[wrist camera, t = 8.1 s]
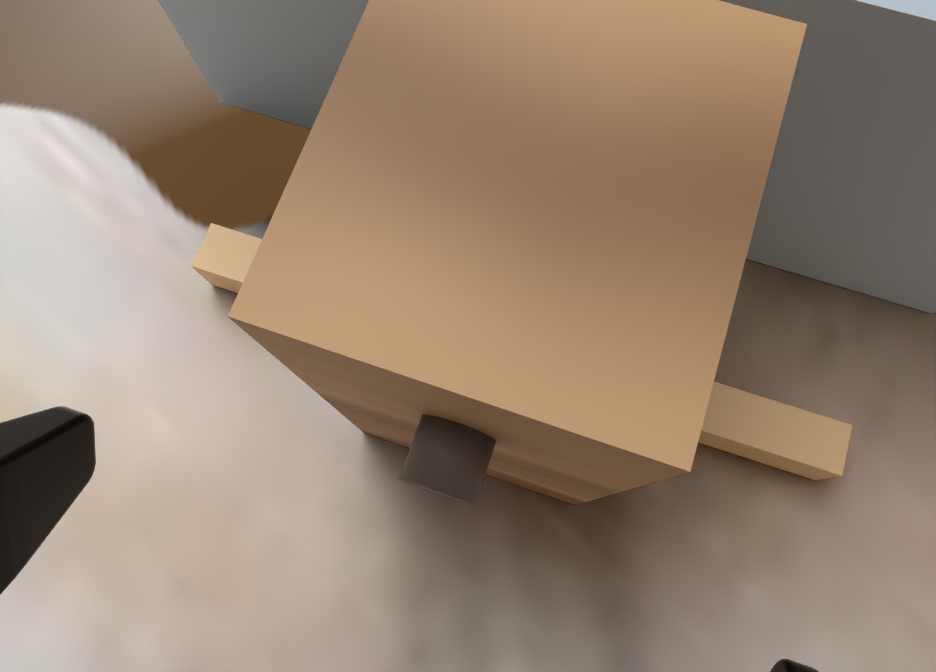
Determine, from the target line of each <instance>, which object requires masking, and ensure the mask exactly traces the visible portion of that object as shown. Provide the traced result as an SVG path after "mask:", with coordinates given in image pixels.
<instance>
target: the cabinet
mask: <svg viewBox="0 0 936 672" xmlns="http://www.w3.org/2000/svg"><path fill="white" fill-rule="evenodd" d="M806 26H807V24H805V23H801V22H798V21H794V20H790V19H786V18H783V17H779V16H775V15H771V14H768V13H764V12H760V11H756V10H753V9H749V8H745V7H742V6H738V5H734V4H730V3H727V2H723V1H719V0H369V1H368V4H367V6H366V8H365V10H364V13H363V15H362V17H361V19H360V22H359V24H358V26H357V28H356V31H355V33H354V35H353V37H352V40H351V42H350V44H349V46H348V48H347V51H346V53H345V55H344V57H343V60H342V62H341V64H340V66H339V69H338V71H337V73H336V75H335V78H334V80H333V82H332V84H331V87H330V89H329V91H328V93H327V95H326V98H325V100H324V102H323V104H322V107H321V109H320V111H319V113H318V116H317V118H316V120H315V122H314V125H313V127H312V129H311V131H310V134H309V136H308V138H307V140H306V142H305V145H304V147H303V149H302V151H301V154H300V156H299V158H298V160H297V163H296V165H295V167H294V169H293V172H292V174H291V176H290V178H289V181H288V183H287V185H286V187H285V189H284V192H283V194H282V196H281V199H280V201H279V203H278V205H277V207H276V210H275V212H274V214H273V216H272V219H271V221H270V223H269V225H268V228H267V230H266V232H265V234H264V236H263V239H262V241H261V243H260V245H259V248H258V250H257V252H256V254H255V257H254V259H253V261H252V263H251V266H250V268H249V270H248V272H247V275H246V277H245V279H244V281H243V283H242V286H241V288H240V290H239V292H238V295H237V297H236V299H235V301H234V304H233V306H232V308H231V310H230V313H229V315H228V317H229V318H230V319H232V320H233V321H234V322H235V323H236V324H237V325H239V326H240V327H241V328H242V329H243V330H244V331H246V332H247V333H248V334H249V335H250V336H251V337H253V338H254V339H255V340H256V341H257V342H258V343H260V344H261V345H262V346H263V347H264V348H265V349H267V350H268V351H269V352H270V353H271V354H272V355H274V356H275V357H276V358H277V359H278V360H279V361H281V362H282V363H283V364H284V365H285V366H286V367H288V368H289V369H290V370H291V371H292V372H293V373H295V374H296V375H297V376H298V377H299V378H300V379H302V380H303V381H304V382H305V383H306V384H308V385H309V386H310V387H311V388H312V389H313V390H315V391H316V392H317V393H318V394H319V395H320V396H322V397H323V398H324V399H325V400H326V401H327V402H329V403H330V404H331V405H332V406H333V407H334V408H336V409H337V410H338V411H339V412H340V413H341V414H343V415H344V416H345V417H346V418H347V419H348V420H350V421H351V422H352V423H353V424H354V425H355V426H357V427H358V428H359V429H360V430H361V431H362V432H365V433H367V434H370V435H373V436H376V437H379V438H382V439H385V440H388V441H390V442H393V443H396V444H399V445H402V446H405V447H408V448H410V449H409V452H408V455H407V458H406V460H405V463H404V466H403V469H402V471H401V474H400V477H399V479H401V480H403V481H405V482H408V483H410V484H413V485H416V486H418V487H421V488H424V489H426V490H429V491H432V492H435V493H438V494H440V495H443V496H446V497H449V498H452V499H455V500H458V501H461V502H464V503H467V504H471V505H475V504H476V501H477V498H478V495H479V492H480V489H481V486H482V483H483V480H484V477H485V474H486V475H489V476H491V477H494V478H497V479H500V480H503V481H506V482H509V483H512V484H515V485H517V486H520V487H523V488H526V489H529V490H532V491H535V492H538V493H541V494H543V495H546V496H549V497H552V498H555V499H558V500H561V501H564V502H566V503H569V504H572V505H578V504H581V503H585V502H588V501H591V500H595V499H598V498H602V497H605V496H609V495H612V494H616V493H619V492H622V491H626V490H629V489H633V488H636V487H640V486H643V485H647V484H650V483H653V482H657V481H660V480H664V479H667V478H671V477H674V476H678V475H681V474H684V473H688V472H690V471H691V467H692V464H693V460H694V456H695V452H696V448H697V444H698V441H699V437H700V433H701V429H702V425H703V421H704V418H705V414H706V410H707V406H708V402H709V398H710V395H711V391H712V387H713V383H714V379H715V375H716V372H717V368H718V364H719V360H720V356H721V352H722V349H723V345H724V341H725V337H726V333H727V329H728V326H729V322H730V318H731V314H732V310H733V306H734V303H735V299H736V295H737V291H738V287H739V283H740V280H741V276H742V272H743V268H744V264H745V260H746V257H747V253H748V249H749V245H750V241H751V237H752V233H753V230H754V226H755V222H756V218H757V214H758V210H759V207H760V203H761V199H762V195H763V191H764V187H765V184H766V180H767V176H768V172H769V168H770V164H771V161H772V157H773V153H774V149H775V145H776V141H777V138H778V134H779V130H780V126H781V122H782V118H783V115H784V111H785V107H786V103H787V99H788V95H789V92H790V88H791V84H792V80H793V76H794V72H795V69H796V65H797V61H798V57H799V53H800V49H801V46H802V42H803V38H804V34H805V30H806Z"/></svg>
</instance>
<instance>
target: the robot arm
mask: <svg viewBox="0 0 936 672" xmlns="http://www.w3.org/2000/svg"><path fill="white" fill-rule="evenodd" d="M95 464H96V457H95V433H94V422H93V420H92V418H91V417H90V416H89V415H87V414H85V413H82V412H79V411H76V410H73V409H70V408H67V407H62V406H61V407H54V408H50V409H47V410H43V411H40V412H37V413H33V414H30V415H26V416H23V417H19V418H16V419H12V420H9V421H5V422H2V423H0V594H1V593H2V592H3V591H4V590H5V589H6V588H7V586H8V585H9V584H10V583H11V582H12V581H13V580H14V579H15V577H16V576H17V575H18V574H19V572H20V571H21V570H22V569H23V568H24V566H25V565H26V564H27V563H28V561H29V560H30V559H31V557H32V556H33V555H34V553H35V552H36V551H37V549H38V548H39V547H40V545H41V544H42V543H43V541H44V540H45V539H46V538H47V536H48V535H49V534H50V532H51V531H52V530H53V528H54V527H55V526H56V524H57V523H58V522H59V520H60V519H61V518H62V516H63V515H64V514H65V512H66V511H67V510H68V508H69V507H70V506H71V504H72V503H73V502H74V501H75V499H76V498H77V497H78V495H79V494H80V493H81V491H82V490H83V489H84V487H85V486H86V485H87V483H88V482H89V480H90V479H91V477H92V475H93V472H94V469H95ZM770 672H818V671H817V670H816V669H814V668H811V667H809V666H806V665H803V664H800V663H797V662H794V661H792V660H789V659H782V660H780V661H778V662H777V663H776V664H775V665H774V667H773V668H772V670H771V671H770Z"/></svg>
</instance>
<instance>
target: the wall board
mask: <svg viewBox="0 0 936 672" xmlns="http://www.w3.org/2000/svg"><path fill="white" fill-rule="evenodd" d="M158 1H159V2H160V4H161V5H162V7H163V9H164V11H165V12H166V14H167V15H168V17H169V19H170V20H171V22H172V24H173V25H174V27H175V29H176V30H177V32H178V34H179V35H180V37H181V39H182V40H183V42H184V44H185V45H186V47H187V49H188V50H189V52H190V53H191V55H192V57H193V59H194V60H195V62H196V63H197V65H198V67H199V68H200V70H201V72H202V73H203V75H204V76H205V78H206V80H207V82H208V83H209V85H210V87H211V88H212V90H213V92H214V93H215V95H216V96H217V98H218V100H219V101H220V103H224V104H227V105H230V106H233V107H237V108H240V109H244V110H247V111H251V112H254V113H257V114H260V115H264V116H268V117H271V118H274V119H277V120H281V121H284V122H288V123H291V124H294V125H298V126H301V127H304V128H308V129H312V127H313V125H314V122H315V120H316V118H317V116H318V113H319V111H320V109H321V107H322V104H323V102H324V100H325V98H326V95H327V93H328V91H329V89H330V87H331V84H332V82H333V80H334V78H335V75H336V73H337V71H338V69H339V66H340V64H341V62H342V60H343V57H344V55H345V53H346V51H347V48H348V46H349V44H350V42H351V40H352V37H353V35H354V33H355V31H356V28H357V26H358V24H359V22H360V19H361V17H362V15H363V13H364V10H365V8H366V6H367V4H368V1H369V0H158ZM719 1H723V2H727V3H730V4H734V5H738V6H742V7H745V8H749V9H753V10H756V11H760V12H764V13H768V14H771V15H775V16H779V17H783V18H786V19H790V20H794V21H798V22H801V23H805V24H807V26H806V30H805V34H804V38H803V42H802V46H801V49H800V53H799V57H798V61H797V65H796V69H795V72H794V76H793V80H792V84H791V88H790V92H789V95H788V99H787V103H786V107H785V111H784V115H783V118H782V122H781V126H780V130H779V134H778V138H777V141H776V145H775V149H774V153H773V157H772V161H771V164H770V168H769V172H768V176H767V180H766V184H765V187H764V191H763V195H762V199H761V203H760V207H759V210H758V214H757V218H756V222H755V226H754V230H753V233H752V237H751V241H750V245H749V249H748V253H747V257H746V259H749V260H752V261H756V262H759V263H763V264H766V265H769V266H773V267H776V268H779V269H783V270H786V271H790V272H793V273H796V274H800V275H803V276H806V277H810V278H813V279H816V280H820V281H823V282H827V283H830V284H833V285H837V286H840V287H843V288H847V289H850V290H854V291H857V292H860V293H864V294H867V295H870V296H874V297H877V298H881V299H884V300H887V301H891V302H894V303H897V304H901V305H904V306H907V307H911V308H914V309H918V310H921V311H924V312H928V313H931V314H933V313H935V312H936V0H719ZM261 241H262V239H260V238H257V237H254V236H251V235H247V234H244V233H241V232H238V231H235V230H232V229H228V228H225V227H222V226H219V225H216V224H212V223H211V225H210V227H209V229H208V231H207V233H206V236H205V238H204V240H203V242H202V244H201V246H200V249H199V251H198V253H197V255H196V257H195V259H194V262H193V264H192V267H193V268H194V269H195V270H196V271H197V272H198V273H200V274H201V275H202V276H203V277H204V278H205V279H206V280H207V281H208V282H209V283H210V284H211V285H214V286H217V287H220V288H223V289H226V290H229V291H232V292H235V293H238V292H239V290H240V288H241V286H242V283H243V281H244V279H245V277H246V275H247V272H248V270H249V268H250V266H251V263H252V261H253V259H254V257H255V254H256V252H257V250H258V248H259V245H260V243H261ZM851 430H852V425H851V424H847V423H844V422H841V421H838V420H835V419H832V418H828V417H825V416H822V415H819V414H816V413H813V412H809V411H806V410H803V409H800V408H797V407H794V406H790V405H787V404H784V403H781V402H778V401H774V400H771V399H768V398H765V397H762V396H759V395H755V394H752V393H749V392H746V391H743V390H740V389H736V388H733V387H730V386H727V385H724V384H721V383H717V382H714V383H713V387H712V391H711V395H710V398H709V402H708V406H707V410H706V414H705V418H704V421H703V425H702V429H701V433H700V437H699V441H698V443H701V444H704V445H707V446H711V447H714V448H717V449H720V450H723V451H726V452H729V453H732V454H735V455H738V456H741V457H745V458H748V459H751V460H754V461H757V462H760V463H763V464H766V465H769V466H772V467H775V468H778V469H782V470H785V471H788V472H791V473H794V474H797V475H800V476H803V477H806V478H809V479H812V480H819V479H825V478H832V477H838V476H843V471H844V466H845V461H846V456H847V451H848V446H849V440H850V435H851Z"/></svg>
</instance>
